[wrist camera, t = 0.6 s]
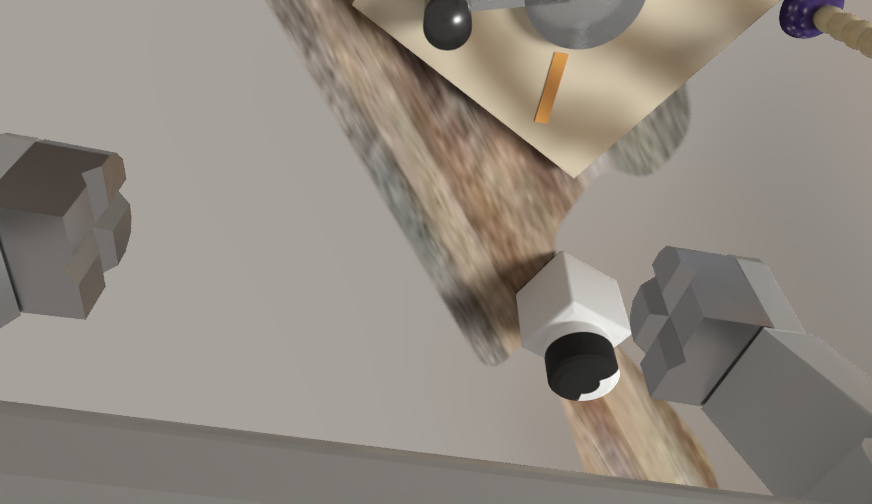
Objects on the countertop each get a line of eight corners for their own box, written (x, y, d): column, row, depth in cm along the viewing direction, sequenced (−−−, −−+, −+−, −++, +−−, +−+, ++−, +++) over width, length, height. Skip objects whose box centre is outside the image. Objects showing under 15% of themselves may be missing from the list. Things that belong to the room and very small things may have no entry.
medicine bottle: (514, 293, 64) (524, 391, 55) (561, 247, 61) (581, 345, 51) (569, 321, 67) (588, 420, 58) (618, 279, 63) (646, 377, 54)
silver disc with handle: (652, -89, 40) (674, -66, 36) (639, 38, 45) (657, 70, 41) (418, -64, 41) (415, -40, 37) (431, 56, 46) (430, 89, 42)
